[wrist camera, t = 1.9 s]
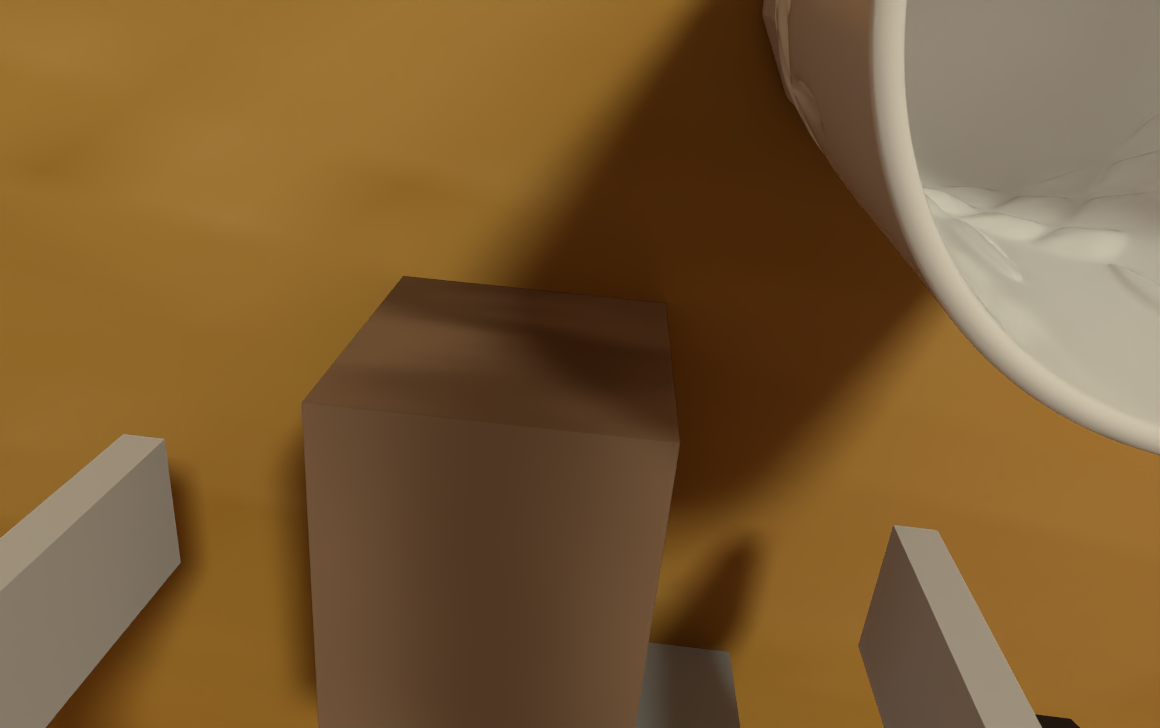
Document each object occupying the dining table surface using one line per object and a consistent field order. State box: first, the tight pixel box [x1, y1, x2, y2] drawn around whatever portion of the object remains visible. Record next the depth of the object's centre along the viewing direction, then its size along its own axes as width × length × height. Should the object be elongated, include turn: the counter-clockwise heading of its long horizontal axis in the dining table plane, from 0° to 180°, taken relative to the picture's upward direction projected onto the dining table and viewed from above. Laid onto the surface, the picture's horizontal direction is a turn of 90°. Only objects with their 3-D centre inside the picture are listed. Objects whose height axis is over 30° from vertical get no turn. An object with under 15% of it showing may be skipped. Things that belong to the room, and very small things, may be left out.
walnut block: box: [302, 276, 680, 728], centre depth 16 cm, size 6×7×6 cm
